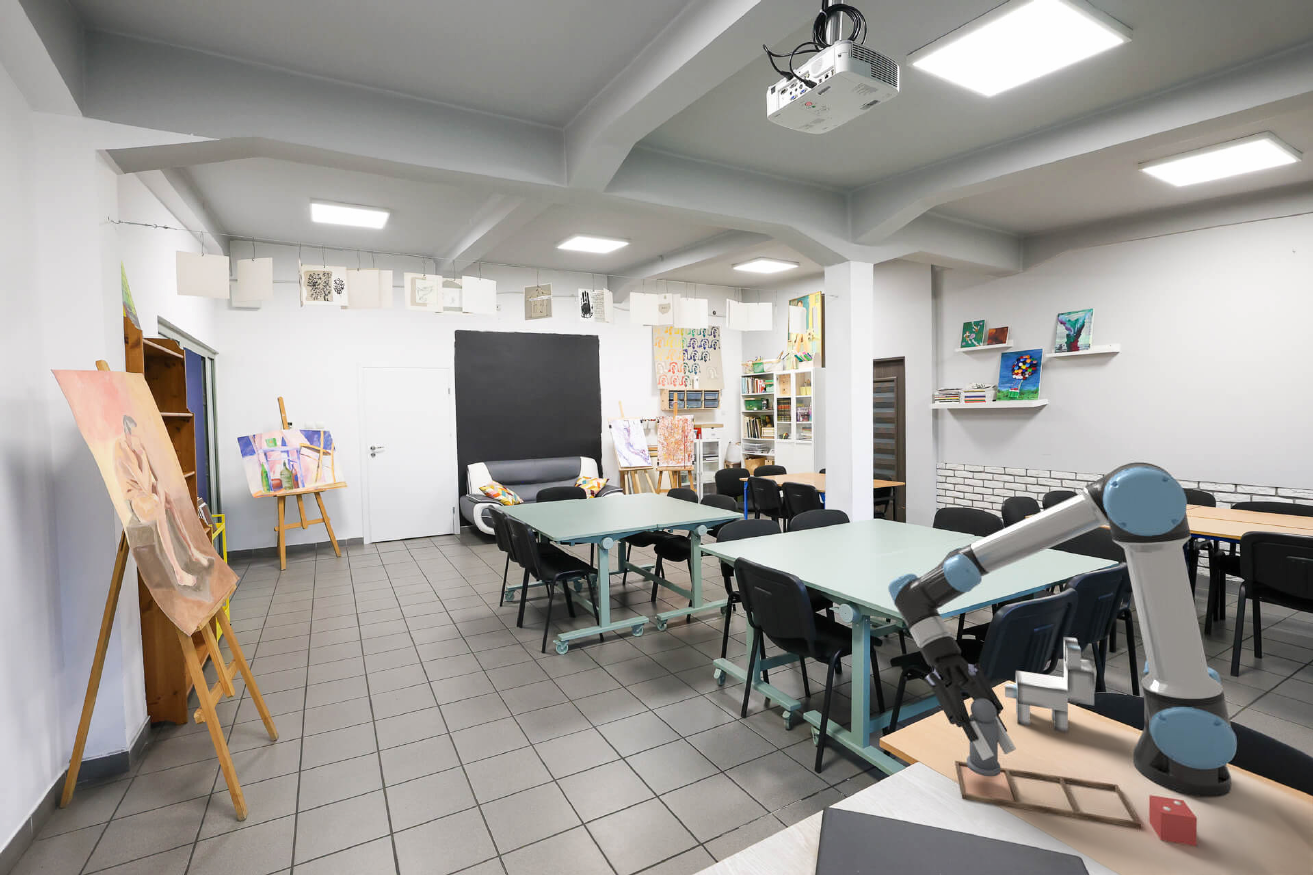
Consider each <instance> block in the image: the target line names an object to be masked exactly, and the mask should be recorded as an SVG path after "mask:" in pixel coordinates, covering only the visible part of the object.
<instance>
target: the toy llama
mask: <svg viewBox="0 0 1313 875" xmlns="http://www.w3.org/2000/svg"><path fill="white" fill-rule="evenodd" d="M1078 642H1079V641H1078V639H1077V638H1076V637H1068V636H1063V677H1062V676H1058V675H1057V676H1056V675H1048V674H1043V673H1042V674H1041V673H1037V672H1035V673H1034V672H1028V671H1021V670H1015V683H1008V682H1004V696H1005V698H1007V699H1008V698H1010V699H1015V711H1016V712H1015V714H1016V721H1017V725H1023V726H1027V727H1030V726H1031V707H1036V708H1042V709H1048V710H1051V719H1052V720H1051V721H1053V727H1054V731H1055V732H1060V733H1067V734H1068V732H1069V717H1068V716H1069V709H1068V708H1069V707H1068V706H1069V704H1068V703H1076V704H1081V705H1088V706H1089V705H1090V706H1095V672H1094V669H1093V666H1092V665H1091V662H1090V660H1087V659H1082V649H1081V647H1080V645H1079V643H1078Z"/></svg>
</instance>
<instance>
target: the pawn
mask: <svg viewBox="0 0 1313 875" xmlns="http://www.w3.org/2000/svg"><path fill="white" fill-rule="evenodd" d="M970 713H971V714H969V718H970V722H972V721H975V722H976V724H977V726H978V728H979V729H980V731H981V733H982V735H983V737H984V738H985V740H986V742H987V744H988V745H989V747H990V749H991V751H992V753H993V754H994V756H992V757H990V758H988V759H986V760H982V758H981V756H980V754H979V752H978V751H977V749H976V747H975V745H974V743H973V742H970V741H969V755H968V756H966V757H967V758H966V762H967V766H968V768H969V769H970V770H971V771H973V772H975V773H977V774H979V775H983V776H990V777H992V776H997V775H999V774H1000V769H1001V768H1002V767H1001V764H1000V762H999V761H998V760H999V759H998V758H999V757H998V756H999V755H998V750H999V748H998V745H999V743H998V721H997V720H996V719H995V718H996V714H997V712H996V708H995V706H994V705H993V703H992V702H990V701H989V700H987V699H984V698H979V699H976V700H973V701H972V702H971V705H970Z"/></svg>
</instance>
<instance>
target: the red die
mask: <svg viewBox="0 0 1313 875" xmlns="http://www.w3.org/2000/svg"><path fill="white" fill-rule="evenodd" d="M1148 800H1149V802H1148V804H1149V807H1148V809H1149V810H1148V811H1149V813H1148V814H1149V815H1148V816H1149V817H1148V821H1149V824H1150V825H1151V827H1152V828H1153V830H1154V831H1155V834H1156V835H1157V836H1158V838H1159V839H1160V841H1163V842H1164V841H1165V842H1171V843H1175V844H1181V845H1188V846H1193V847H1197V840H1198V838H1197V836H1198V835H1197V833H1198V831H1197V828H1198V827H1197V826H1198V820H1197V819H1198V818H1197V816H1196V815H1195V814H1194V812H1193V811H1192V809H1191V808H1190V807H1189V805H1188V804H1187V803H1186V802H1185V801H1184V799H1176V798H1171V797H1165V796H1159V795H1158V796H1157V795H1151V794H1149V798H1148Z"/></svg>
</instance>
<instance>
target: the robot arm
mask: <svg viewBox="0 0 1313 875" xmlns="http://www.w3.org/2000/svg"><path fill="white" fill-rule="evenodd" d="M1082 487H1083V488H1082V490H1081V492H1080V493H1079V494H1077V495H1075V496H1072V497H1070V498H1067V499H1066V500H1063V501H1061V502H1060V503H1057V504H1055V505H1053V506H1049V507H1048V508H1045V509H1043V510H1042V511H1039V512H1038V513H1036V514H1033V515H1030V516H1028V517H1027V518H1024V519H1022V520H1020V521H1018V522H1015V523H1013V524H1011V525H1009V526H1007V527H1005V528H1002V529H1000V530H998V531H996V532H994V533H992V534H988V535H987V536H985V537H983V538H980V539H978V540H977V541H974V542H972V543H970V544H968V545H965V546H962V547H958V548H955V549H953V550H951V551H949V552H948V553H947V554H946V556H945V557H944V559H943V560H942V561H941V562H940V563H939V564H938V565H937V566H935V567H934V568H932V569H931V570H930V571H928V572H926V573H925V574H924V575H922V576H920V577H918V575H916V574H915V573H906V574H903V575H901V576H898V577H896V578H895V579H893V580H892V581H891V582H890V583H889V585H888V588H887V589H888V592H889V595H890V598H891V600H892V601H893V604H894V606H895V607H896V609H897V610H898V612H899V614H900V616H901V618H902V620H903V621H904V622H905V625H906V626H907V628H908V631H909V632H910V634H911V636H912V639H913V640H914V642H915V643H916V645H917V647H918V648H921V649H920V653H921V655H922V656H923V658H924V660H925V662H926V664H927V665H928V666H929V667H931V672H930V673H929V674H928V675H927V676H925V677H924V681H925V683H927V685H928V686H929V687H930V689H931V690H932V692H933V694H934V695H935V697H936V700H937V701H938V704H939V705H940V707H941V708H942V711H943V712H944V715H945V716H946V718H947V720H948V722H949V723H950V725H956V727H958V728H962V730H963V732H964V734H965V735H966V737H967V739H968V741H969V743H970V742H973V743H974V745H975V747H976V749H977V751H978V752H979V754H980V756H981V758H982V760H986V759H988V758H990V757H992V756H994V754H993V753H992V751H991V749H990V747H989V745H988V744H987V742H986V740H985V738H984V737H983V735H982V733H981V731H980V729H979V728H978V726H977V724H976V722H975V721H972V722H970V714H969V712H968V710H967V707H966V704H965V701H964V699H963V695H962V692H961V689H962V690H964V691H965V692H966V693H967V694H968V695H969V697H970V698H971V700H973V701H974V700H976V699H979V698H984V699H987V700H989V701H990V702H992V703H993V705H994V706H995V708H996V712H997V714H996V718H995V719H996V720H997V721H998V745H999V746H1000V749H1001V750H1002V752H1003V753H1004V755H1007V754H1009V753H1011V752H1013V751H1016V750H1017V748H1016V746H1015V744H1014V743H1013V741H1012V739H1011V737H1010V736H1009V734H1008V729H1007V727H1006V726H1005V724H1004V722H1003V721H1002V719H1001V717H1000V714H1001V713H1002V711H1003V710H1004V706H1003V704H1002V702H1001V701H1000V700H999V698H998V696H997V694H996V693H995V691H994V689H993V687H992V686H991V684H990V683H989V681H988V679H987V678H986V676H985V674H984V673H983V670H982V669H983V668H982V666H981V664H980V663H979V662H976V663H975V664H971V663H968V661H967V660H965V659H964V658H963V656H962V650H961V647H960V646H959V645H958V643H957V641H956V640H955V637H953V636H951V631H950V630H949V629H950V628H949V627H948V626H947V625H946V622H944V619H943V618H942V616H941V614H940V613H939V611H938V609H940V608H942V607H944V605H946V604H948V603H950V602H951V601H954V600H956V599H957V598H958V597H961V596H962V595H964V594H966V593H969V592H971V591H972V590H973V589H974V588H976V587H977V586H978V585H980V584H981V582H982V580H983V579H982V577H984V576H986V575H988V574H990V573H992V572H996V571H998V570H999V569H1001V568H1004V567H1007V566H1010V565H1013V564H1014V563H1017V562H1019V561H1021V560H1023V559H1026V558H1029V557H1031V556H1033V555H1036V554H1038V553H1040V552H1043V551H1046V550H1047V549H1051V548H1052V547H1055V546H1057V545H1060V544H1061V543H1064V542H1067V541H1068V540H1073V538H1076V537H1078V536H1080V535H1084V534H1085V533H1088V532H1090V531H1092V530H1095V529H1098V528H1100V527H1103V526H1106V527H1109V528H1110V533H1111V538H1112V539H1111V540H1112V541H1113V542H1114V543H1115V544H1117V545H1118V546H1120V547H1121V548H1123V550H1124V554H1125V559H1126V565H1127V571H1128V574H1129V575H1128V576H1129V579H1130V583H1131V584H1130V585H1131V589H1132V594H1133V598H1134V599H1133V600H1134V604H1135V608H1136V612H1137V613H1136V614H1137V618H1138V622H1139V623H1138V624H1139V629H1140V634H1141V638H1142V644H1143V648H1144V652H1145V657H1146V660H1145V663H1144V664H1145V665H1144V669H1143V674H1144V677H1142V679H1141V686H1142V692H1143V693H1142V694H1143V696H1144V697H1143V699H1144V724H1143V725H1144V728H1143V730H1142V732H1141V735H1140V736H1139V738H1138V741H1137V743H1136V746H1135V748H1134V749H1133V764H1134V767H1135V768H1136V770H1137V771H1139V773H1141V774H1142V775H1143V776H1145V777H1146V778H1147V779H1149V780H1150V781H1153V782H1154V783H1157V784H1158V785H1161V786H1164V787H1165V788H1168V789H1171V790H1172V791H1173V790H1174V791H1176V792H1179V793H1183V794H1186V795H1187V794H1188V795H1191V796H1197V797H1205V798H1219V797H1222V796H1226V795H1227V794H1229V793H1230V792H1231V791H1232V777H1231V776H1232V775H1231V773H1230V771H1229V768H1228V766H1227V764H1228V763H1230V762H1231V761H1232V760H1233V758H1234V757H1235V755H1236V752H1237V746H1238V740H1237V735H1236V733H1235V732H1234V730H1233V728H1232V725H1231V721H1230V716H1229V711H1228V706H1227V702H1226V699H1225V698H1226V697H1225V693H1224V688H1223V686H1222V683H1221V676H1220V674H1219V672H1217V671H1216V670H1215V669H1213V668H1212V667H1209V666H1208V663H1207V660H1206V654H1205V651H1204V650H1205V649H1204V645H1203V639H1202V636H1201V630H1200V625H1199V620H1198V615H1197V611H1196V606H1195V602H1194V596H1193V592H1192V587H1191V583H1190V578H1189V573H1188V567H1187V563H1186V559H1185V553H1184V549H1183V546H1184V545H1185V544H1186V543H1187V542H1188V541H1189V540H1190V539H1191V538H1192V535H1191V530H1190V525H1189V519H1188V515H1187V506H1188V499H1187V496H1186V493H1185V491H1184V488H1183V487H1182V486H1181V484H1180V483H1179V482H1178V481H1177V479H1176V478H1174V477H1173V476H1172V475H1171V473H1169V472H1168V471H1167V470H1165V469H1164V468H1162V467H1161V466H1158V465H1157V464H1153V463H1149V462H1139V461H1138V462H1136V461H1135V462H1130V463H1129V462H1128V463H1126V464H1123V465H1120V466H1119V467H1117V468H1115V469H1113V470H1112V471H1110V472H1109V473H1107V474H1106V475H1103V476H1102V477H1101V478H1098V479H1097V480H1095V481H1093V482H1091V483H1088V484H1086V485H1084V486H1082ZM960 688H961V689H960Z"/></svg>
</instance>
